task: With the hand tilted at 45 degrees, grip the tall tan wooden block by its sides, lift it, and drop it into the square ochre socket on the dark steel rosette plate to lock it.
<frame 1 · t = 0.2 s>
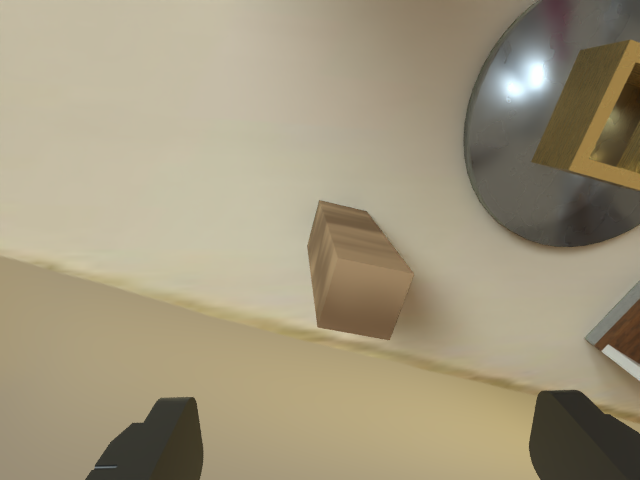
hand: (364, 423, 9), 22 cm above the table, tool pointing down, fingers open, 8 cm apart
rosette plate: (588, 122, 28), on the table
tall tan wooden block: (336, 228, 30), on the table
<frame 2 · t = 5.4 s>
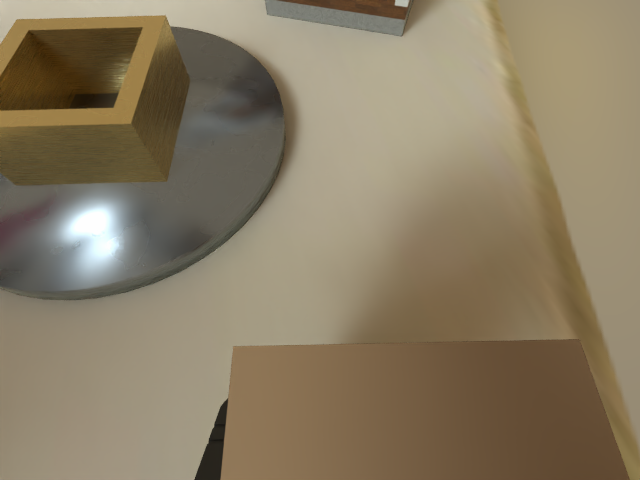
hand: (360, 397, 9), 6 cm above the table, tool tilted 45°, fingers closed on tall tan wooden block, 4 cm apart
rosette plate: (121, 142, 22), on the table
tall tan wooden block: (351, 468, 14), on the table, touching gripper
when the fingers open (9 cm above the table, at t = 12.6 s): tall tan wooden block drops 1 cm, resting on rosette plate.
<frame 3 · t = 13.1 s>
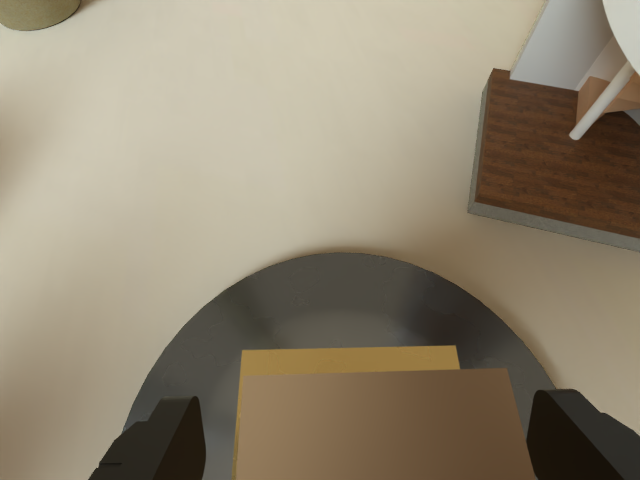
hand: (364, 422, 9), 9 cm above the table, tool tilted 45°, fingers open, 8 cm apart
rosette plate: (347, 463, 16), on the table
plant pot: (41, 11, 34), on the table
display case: (554, 164, 24), on the table
tall tan wooden block: (348, 466, 15), point 1 cm above the table, touching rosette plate
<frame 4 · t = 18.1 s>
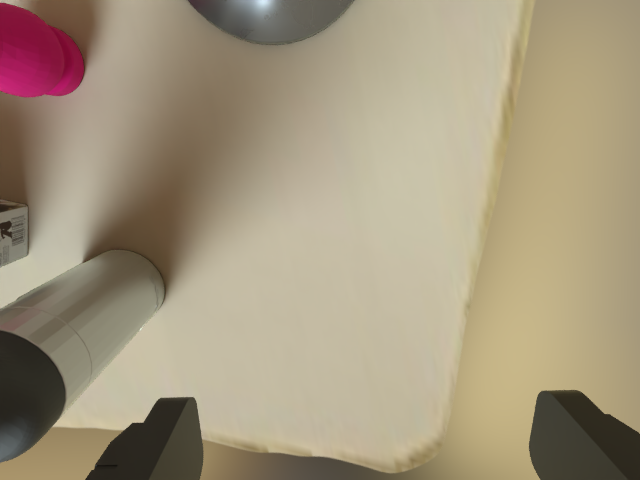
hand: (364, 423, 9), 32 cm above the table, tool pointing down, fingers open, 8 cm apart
pepper mill: (54, 62, 36), on the table
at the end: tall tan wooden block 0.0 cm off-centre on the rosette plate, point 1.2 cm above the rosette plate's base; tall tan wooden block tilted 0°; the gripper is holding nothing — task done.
